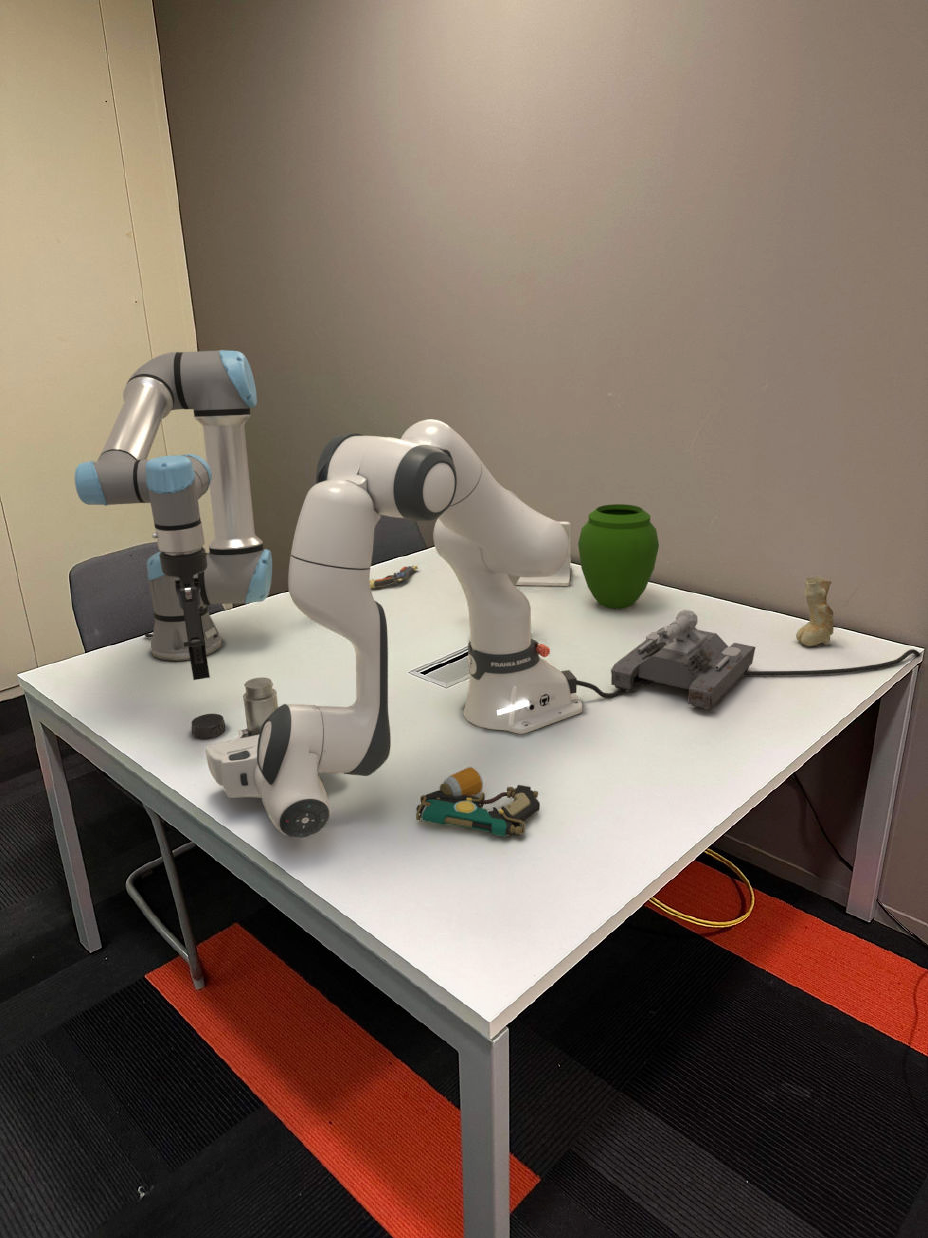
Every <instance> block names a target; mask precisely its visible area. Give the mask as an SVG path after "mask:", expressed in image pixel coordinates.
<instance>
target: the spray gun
mask: <svg viewBox="0 0 928 1238" xmlns="http://www.w3.org/2000/svg"><path fill="white" fill-rule="evenodd" d="M483 787H484V780H483V777H482V775H481V773H480V772H479V771H478V770H477V769H476V768H474V767H472V766H471V767H466V768H464V769H462V770H460V771H458V772H454V773H453V774H451V775H449V776H446V778H444V780H443V782H442V783H441V784H440V786H439V790H435V791H432V792H430V793H427V794H422V795H420V798H419V799H420V804H418V805H417V806H416V809H415V811H416V813H415V821H417V822H420V821H421V820H422V821H424V822H428V823H433V824H437V825H443V826H446V825H450V826H456V827H461V828H466V829H472V830H478V831H483V832H488V834H491V835H493V836H499V837H503V838H506V837H507V836H508V837H509V836H510V835H511V834H513V833H515V834H516V835H523V834H524V833H525V832H526V821H528V820H529V819H530V818H531V817H532V816H534V815H535V814H537V813H538V812H539V811H540V809H541V808H540V807H541V803H540V801H539V800H538V799H537V798H538V796H539V791H537V790H532V787H531V786H527V785H523V784H517V786H516V787H513V786H507V787H506V791H502V792H500V793H498V794H497V795H495V796H494V797H492V798H489V799H486V795H485V792H482V790H483ZM477 794H480V795H479V797H478V796H475V795H477ZM504 797H506V798H507V799H512V800H513V801H512V802H510V803H509V804H506V806H504V805H502V806H500V809H498V808H497V807H496V806H494V807H492V810H487V809H486V808H484V806H485V805H491V804H494V803H496V802H498V801H500V799H502V798H504Z"/></svg>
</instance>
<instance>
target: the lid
mask: <svg viewBox="0 0 928 1238" xmlns="http://www.w3.org/2000/svg"><path fill="white" fill-rule="evenodd" d="M225 722H226V721H225V719H224V716H223V715H221V714H219V713H205V714H201V715H199V716H197V717H195V718H193V719H192V721H191V724H190V725H191V726H190V727H191V733H192V736H193V737H194V738H196V739H199V740H211V739H214V738H215V739H216V738H218V737H220V736H222V735H223V734H224V733H225V731H226V723H225Z"/></svg>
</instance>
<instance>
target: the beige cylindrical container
mask: <svg viewBox="0 0 928 1238" xmlns="http://www.w3.org/2000/svg"><path fill="white" fill-rule="evenodd" d="M243 686H244V688H245V692H244V693H243V695H242V698H243V706H244V712H245V713H244V714H245V722H246V729H247V730H248V732H249V737H250V736H254V735H259V734H260V730H261V727H262V725H263V723H264V722H265V720H266V719H267V718H268V717H269V716H270V715H271V713H272V712H273V711H275V710H276V709H277V708H278V707H279V702H278V701H279V700H278V694H277V690H276V689H275V688H274V687H273V686H274V682H273V680H272V679H271V678H269V677H263V676H262V677H261V676H260V677H255V678H252V679H251V678H250V679H248V680H247V681H246V682H245V683H244V685H243Z"/></svg>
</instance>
